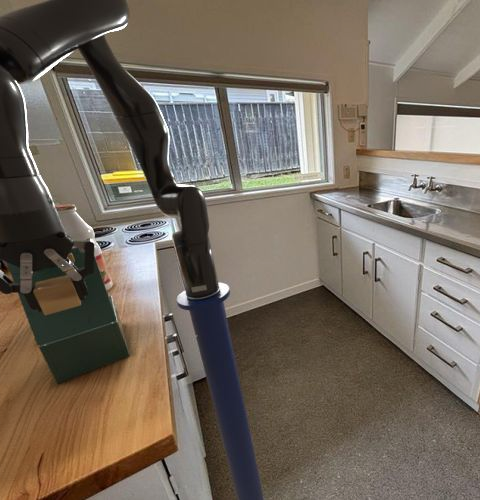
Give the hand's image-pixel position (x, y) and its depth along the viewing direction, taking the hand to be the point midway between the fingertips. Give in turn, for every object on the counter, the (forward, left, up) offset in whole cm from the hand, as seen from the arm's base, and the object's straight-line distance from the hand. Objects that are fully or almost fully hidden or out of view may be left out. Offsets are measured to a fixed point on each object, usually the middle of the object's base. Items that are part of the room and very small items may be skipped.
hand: (62, 303), depth 49 cm
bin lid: (-7, -4, -1) cm, 9 cm away
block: (0, 0, 0) cm, 0 cm away
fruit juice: (-45, -25, -18) cm, 55 cm away
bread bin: (-11, -7, -18) cm, 22 cm away
